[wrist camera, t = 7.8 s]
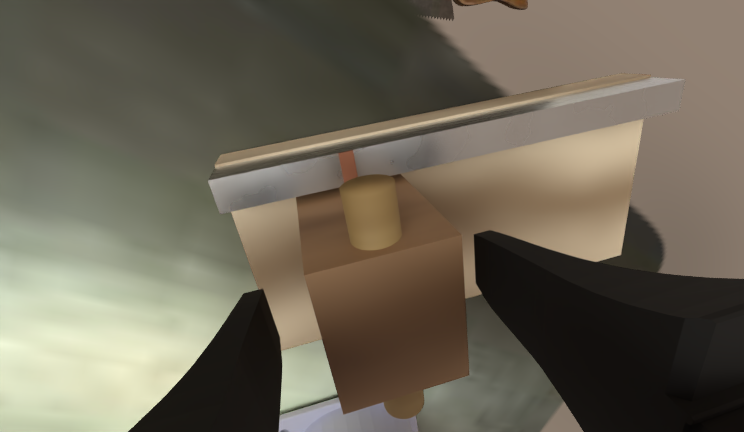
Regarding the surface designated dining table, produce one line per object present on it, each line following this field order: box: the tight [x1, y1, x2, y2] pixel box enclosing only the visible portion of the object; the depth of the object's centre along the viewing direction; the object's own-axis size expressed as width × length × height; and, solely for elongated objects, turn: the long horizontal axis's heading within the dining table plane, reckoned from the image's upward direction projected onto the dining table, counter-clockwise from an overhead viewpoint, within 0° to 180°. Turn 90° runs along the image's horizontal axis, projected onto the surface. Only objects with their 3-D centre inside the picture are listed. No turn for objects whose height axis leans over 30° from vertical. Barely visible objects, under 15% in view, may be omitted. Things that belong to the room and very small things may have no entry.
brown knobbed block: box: [296, 174, 469, 419], centre depth 13 cm, size 8×4×6 cm, turn 9°
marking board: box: [208, 73, 685, 351], centre depth 16 cm, size 9×18×3 cm, turn 99°
